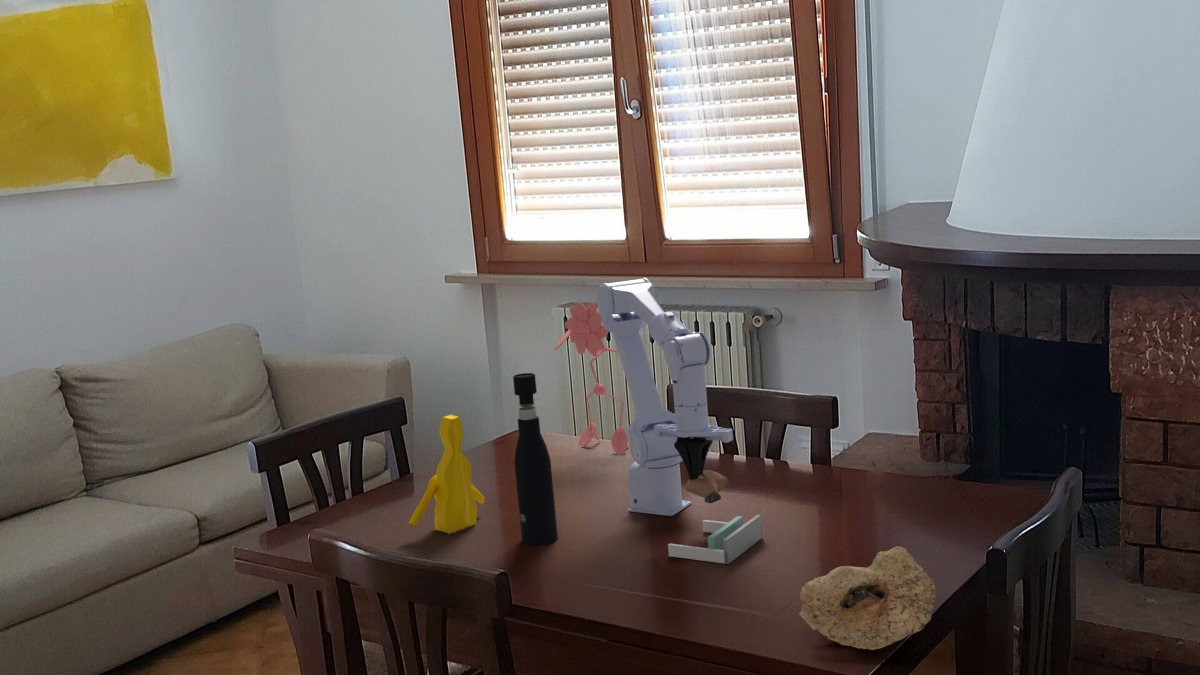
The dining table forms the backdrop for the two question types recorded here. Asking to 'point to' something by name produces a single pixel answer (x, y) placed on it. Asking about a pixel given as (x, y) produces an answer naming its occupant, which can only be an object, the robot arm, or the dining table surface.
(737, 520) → the panel
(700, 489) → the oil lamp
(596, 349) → the figurine
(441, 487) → the figure statuette
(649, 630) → the dining table surface
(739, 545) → the pusher lane
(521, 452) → the black water bottle
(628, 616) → the dining table surface
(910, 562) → the tan rock
